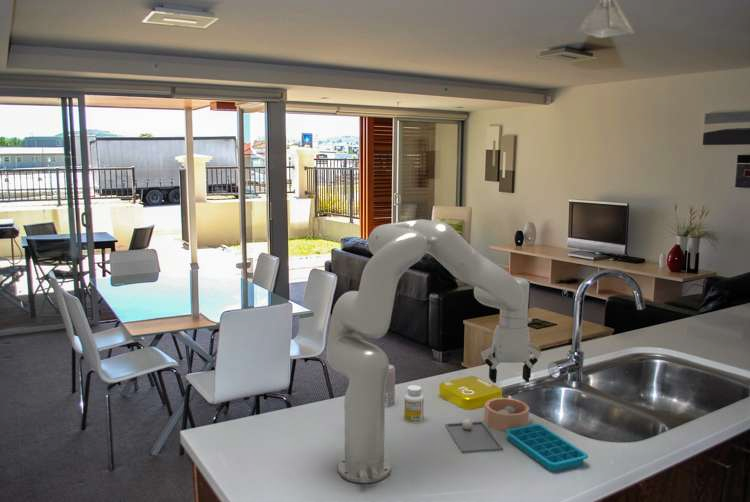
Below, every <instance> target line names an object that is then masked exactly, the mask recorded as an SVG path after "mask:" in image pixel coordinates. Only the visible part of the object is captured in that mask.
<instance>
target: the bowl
mask: <svg viewBox="0 0 750 502" xmlns="http://www.w3.org/2000/svg"><path fill="white" fill-rule="evenodd" d="M507 406H512V407H514V408H515V410H516V414H506V413H500V412H498V411H499V410H502V409H503V410H504V408H505V407H507ZM483 417H484V421H483V422H484V423H485V425H486V426H487V427H490V428H493V429H495V430H498V431H504V432H505V431H506V430H507V429H512V428H517V427H522V426H527V425H530V424H529V423H530V406H529V405H528V404H527V403H526V402H524V401H521V400H519V399H516V398H511V397H509V398H508V397H502V398H494V399H491V400H488V401H487V402H486V404H485V406H484V416H483Z"/></svg>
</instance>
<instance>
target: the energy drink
mask: <svg viewBox="0 0 750 502" xmlns="http://www.w3.org/2000/svg"><path fill="white" fill-rule="evenodd" d="M395 395H396V368H395V366H394V364H391V363H389V372H388V377H387V381H386V387H385V408H386V407H387V408H388V407H392V406H394V405H395V402H396V396H395Z"/></svg>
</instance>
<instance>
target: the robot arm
mask: <svg viewBox="0 0 750 502" xmlns="http://www.w3.org/2000/svg"><path fill="white" fill-rule="evenodd" d="M367 246H368V249H369V252H370V253H371V254H372V255H373V256H371V258H369V260H368V261H367V262H366V264H365V266H364V267H363V271H362V275H361V278H360V283H359V287H358V290H349V291H347V292H343V294H342V295H341V296H340V297H338V298H337V300H336V302H335V304H334V307H333V309H332V314H331V318H330V323H329V324H330V325H329V332H328V338H327V342H326V354H325V355H326V359H327V360H326V361H327V363H328V365H329V366H330V367H331V368H332V369H333V370H335V372H337V373H338V374H340V375H343V376H344V377H346V378H348V380H349V383H348V387H347V390H346V392H345V395H344V403H343V404H344V408H343V409H344V458H342V459H341V460H340V461H339V463H338V465H337V466H338V467H337V470H338V473H339V476H340V477H342V478H343V479H345V480H346V481H349V482H353V483H356V484H357V483H359V484H371V483H372V484H373V483H375V482H380V481H382V480H384V479H385V478H387V477H388V476H389V475H390V473H391V469H392V468H391V462H390V461H389V460H388V459H387V458H385V423H386V422H385V417H386V415H385V412H386V409H385V408H386V407H385V387H386V381H387V377H388V372H389V364H390V363H389V359H388V358H389V357H388V356H387V354H386V353H385V351H384V350H383V349H381V348H380V347H379V346H378V345H375V344H373V343H372V342H369V341H368V340H367V341H366V340H364V339H363V336H364V337H366V338H370V339H380V338H382V337H384V336H385V335H386V334H387V332H388V330H389V328H390V324H391V319H392V314H393V308H394V304H395V303H394V302H395V296H396V291H397V286H398V283H399V280H400V279H401V277H402V275H403V274H404V273H405V272H406V271H407V270H408V269H409V268H410V267H412V266H413V265H415V264H416V263H418V262H420V260H422V258H423V257H425V254H428V255H430V256H432V257H433V258H435V260H436V261H437V262H439V264H440V265H442V266H443V268H445V269H446V270H447V271H448V272H449V273H450V274H451V275H452V276H453V277H454V278H456V279H458V280H460V281H462V282H464V283H466V284H468V285H470V286H473V287H474V288H473V296H474V299H476V301H478V303H480V304H481V305H483V306H486V307H491V308H495V309H498V310H499V324H497V325H495V329H494V333H493V337H492V343H491V346H490V347H489V348H486V349H484V350H483V351H481V352H480V355H481V357H482V359H483V361H484V362H485V364H486V366H488V367H489V369H488V378H489V380H490V381H491V382H492V383H493V384H496V383H497V379H498V378H497V376H498V369H497V367H498V366H499V365H500V363H502V364H504V363H524V365H523V366H522V376H521V377H522V378H521V379H522V380H524V381H525V382H526V383H529V382H530V379H531V375H532V374H531V373H532V369H533V367H534V366H535V364H536V363H537V362H538V359H540V357H541V355H542V352H541V351H540V350H538V349H536V348H534V347H532V346H531V335H530V327H529V326H528V324H529V323H532V321H533V319H532V317H529V316H528V312H529V311H528V310H529V298H530V297H529V296H530V282H529V280H528V279H526V278H522V277H515V276H512V275H511V274H510V273H509V272H508V271H506V270H505V269H504V268H502V267H501V266H499V265H497V264H496V263H494V262H493V261H491V260H490V259H488V258H487V257H485V256H483V255H482V254H480V253H478V252H477V250H476V249H474V247H472V245H470V243H468V241H466V239H464V238H463V236H461V234H460V233H459V232H458V231H456V229H455V228H454V227H452V225H450V224H448V223H446V222H444V221H443V222H442V221H437V220H431V219H422V218H421V219H413V220H408V221H407V220H406V221H400V222H392V223H385V224H381V225H378V226H376V227H375V228H373V230H372V231H371V232H370V233H369V236H368V239H367ZM531 353H532V354H533V355H532V357H531ZM489 355H491V357H492V358H491V359H490V358H489Z"/></svg>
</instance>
